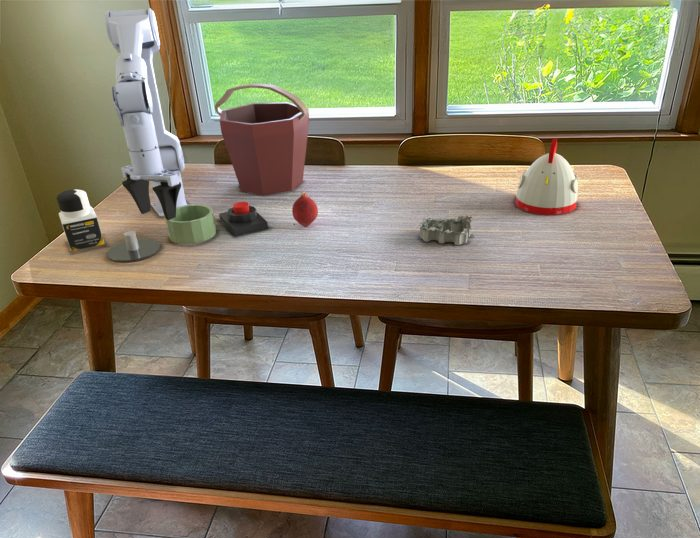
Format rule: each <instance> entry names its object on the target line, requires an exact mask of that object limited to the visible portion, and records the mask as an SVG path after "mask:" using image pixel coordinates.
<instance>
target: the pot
mask: <svg viewBox="0 0 700 538" xmlns="http://www.w3.org/2000/svg"><path fill="white" fill-rule="evenodd" d="M164 221H165V226H166V230H167V231H166V232H167V235H168V238H169V240H170V241H171V242H173V243H176V244H182V245H191V244H197V243H202V242H205V241H208V240H210V239H212V238H214V237H215V236H216V234H217V227H216V226H217V225H216V220H215V213H214V209H213V208H212V207H211V206H208V205H206V204H198V203H197V204H196V203H195V204H188V205H185V206H180V207H177V208H176V217H175V218H173V219H170V220H166V218H165V217H164Z"/></svg>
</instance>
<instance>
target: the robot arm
mask: <svg viewBox="0 0 700 538" xmlns="http://www.w3.org/2000/svg"><path fill="white" fill-rule="evenodd" d="M103 17H104V26H105V29H106V34H107V37H108V40H109V42H110V43H111V44H112V46H113V48H114V49H115V50H116V51H117V53H119V54H120V55H119V56H118V57H117V58H116V60H115V65H114V66H115V85H114V86H113V85H112V86H111V98H112V99H111V100H112V103H113V106H114V109H115V111H116V114H117V116H118V121H119V124H120V126H121V127H122V129H123V134H124V138H125V142H126V146H127V150H128V155H129V159H130V164H131V165H130V164H129V165H125V166H122V167H120V169H121V174H122V178H126V179H125V180H123V181H122V182H121V184H122V186H123V187H124V189H125V190H126V191H127V192H128V193H129V194H130V196H131V197H132V199H133V201H134V202H135V204H136V206H137V208H138V210H139V212H140V214H141V215H145V214H149V213H150V212H152V208H153V210H154V211H155V212H156V213H157V214H158V216H160V217H163V216H164V219H165V218H166V220H170V219H173V218H175V217H176V208H177V207H180V206H185V205H189V204H188V203H187V200H186V195H185V190H184V185H183V180H182V174H181V172H184V170H185V169H186V168H185V167H186V166H185V158H184V152H183V149H182V147H181V141H180V139H179V137H178V136H176V135H175V134H173V133H171V132H170V131H168V130H167V129H166V127H165V121H164V116H163V110H162V105H161V100H160V95H159V90H158V86H157V85H158V84H157V80H156V75H155V69H154V65H153V64H154V63H153V59H154V58H153V57H154V53H156V52H158V51H160V49H161V47H160V46H161V41H160V37H159V30H158V29H159V28H158V23H157V19H156V14H155V12H154V10H152V8H151V7H148V8H144V9H128V10H112V11H110V10H106V11H105V14H104V16H103ZM150 186H151V191H152V196H153V199H154V203H151V198H150Z"/></svg>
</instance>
